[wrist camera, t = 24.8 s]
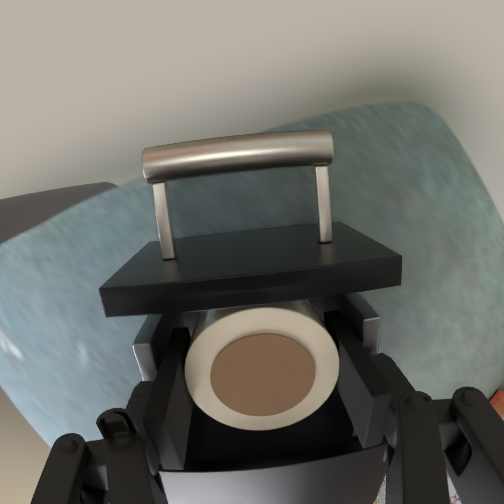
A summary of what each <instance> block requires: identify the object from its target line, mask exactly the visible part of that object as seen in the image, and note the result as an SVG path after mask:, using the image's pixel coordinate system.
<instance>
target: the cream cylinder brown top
mask: <svg viewBox="0 0 504 504" xmlns="http://www.w3.org/2000/svg"><path fill="white" fill-rule="evenodd" d="M184 374H185V379H186V383H187V387H188V390H189V393H190V395H191V397H192V398H193V400H194V401H195V403H196V404H197V405H198V406H199V407H200V408H201V409H202V410H203V411H204V412H205V413H206V414H208V415H209V416H210V417H212V418H214V419H215V420H217V421H219V422H221V423H223V424H226V425H229V426H232V427H235V428H240V429H246V430H271V429H277V428H281V427H285V426H288V425H291V424H294V423H296V422H298V421H300V420H302V419H304V418H306V417H307V416H309V415H310V414H312V413H313V412H314V411H316V410H317V409H318V408H319V407H320V406H321V405H322V404H323V403H324V402H325V401H326V400H327V398H328V397H329V396H330V394H331V392H332V391H333V389H334V387H335V384H336V382H337V378H338V375H339V354H338V350H337V347H336V345H335V342H334V340H333V339H332V337H331V335H330V333H329V331H328V329H327V328H326V326H325V324H324V322H323V320H322V318H321V317H320V315H319V313H318V311H317V310H316V308H315V306H314V305H313V304H312V303H311V302H310V300H308V299H305V300H297V301H289V302H281V303H272V304H264V305H255V306H245V307H236V308H226V309H216V310H205V311H201V312H200V314H199V316H198V318H197V320H196V322H195V325H194V329H193V333H192V336H191V340H190V344H189V348H188V352H187V356H186V361H185V367H184Z"/></svg>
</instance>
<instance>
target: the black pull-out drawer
mask: <svg viewBox="0 0 504 504" xmlns="http://www.w3.org/2000/svg"><path fill="white" fill-rule="evenodd" d="M333 159H334V143H333V138H332V135H331V133H330V131H328V130H304V131H285V132H270V133H258V134H246V135H237V136H227V137H218V138H211V139H202V140H195V141H187V142H180V143H174V144H167V145H162V146H156V147H150V148H145V149H144V150H143V152H142V170H143V175H144V178H145V180H146V182H147V183H148V184H152V191H153V199H154V206H155V213H156V220H157V227H158V234H159V240H160V241H154V242H149V243H148V244H147V245H145V246H144V247H143V248H142V249H141V250H140V251H139V252H138V253H137V254H135V255H134V256H133V257H132V258H131V259H130V260H129V261H128V262H127V263H126V264H125V265H123V266H122V267H121V268H120V269H119V270H118V271H117V272H116V273H115V274H114V275H113V276H112V277H111V278H110V279H108V280H107V281H106V282H105V283H104V284H103V285H102V286H101V287H100V288H99V294H100V298H101V302H102V305H103V309H104V313H105V316H106V317H126V316H142V315H148V316H147V318H146V320H145V322H144V324H143V325H142V327H141V329H140V331H139V333H138V335H137V336H136V338H135V340H134V342H133V344H132V346H133V349H134V353H135V356H136V359H137V362H138V366H139V369H140V372H141V375H142V378H143V381H155V379H156V376H157V373H158V370H159V367H160V364H161V361H162V358H163V356H164V353H165V350H166V347H167V344H168V342H169V339H170V336H171V333H172V331H173V328H180V327H189V332H190V337H191V336H192V333H193V329H194V325H195V322H196V320H197V318H198V316H199V314H200V312H201V311H205V310H216V309H226V308H236V307H245V306H255V305H264V304H272V303H281V302H289V301H297V300H305V299H308V300H310V302H311V303H312V304H313V305H314V306H315V308H316V310H317V311H318V313H319V315H320V317H321V318H322V320H323V322H324V312H327V311H334V310H339V311H340V313H341V314H342V315H343V317H344V318H345V320H346V321H347V323H348V324H349V326H350V327H351V329H352V330H353V331H354V333H355V334H356V336H357V337H358V339H359V340H360V342H361V343H362V345H363V346H364V348H365V349H366V351H367V352H368V354H369V355H375V354H378V347H379V336H380V324H381V316H380V315H379V314H378V313H377V312H376V311H375V310H374V309H373V308H372V307H371V305H370V304H369V303H368V302H367V301H366V300H365V299H364V298H363V297H362V296H361V295H360V294H359V293H358V292H361V291H368V290H374V289H380V288H387V287H393V286H399V285H401V275H402V256H401V255H399V254H398V253H396V252H394V251H392V250H391V249H389V248H387V247H385V246H384V245H382V244H380V243H378V242H376V241H375V240H373V239H371V238H369V237H367V236H366V235H364V234H362V233H360V232H358V231H356V230H355V229H353V228H351V227H349V226H347V225H345V224H343V223H342V222H331V204H330V189H329V175H328V166H326V165H331V164H332V162H333ZM309 166H313V167H312V172H313V184H314V198H315V213H316V224H310V225H300V226H289V227H279V228H270V229H260V230H251V231H241V232H232V233H223V234H214V235H205V236H196V237H187V238H179V239H175V237H174V230H173V223H172V216H171V208H170V201H169V193H168V185H167V182H166V181H173V180H180V179H188V178H195V177H203V176H211V175H220V174H229V173H238V172H248V171H258V170H269V169H281V168H294V167H309ZM358 440H359V438H358V436H357V433H356V431H355V429H354V426H353V424H352V422H351V419H350V417H349V415H348V412H347V410H346V408H345V405H344V403H343V401H342V398H341V396H340V394H339V391H338V389H337V387H336V385H335V387H334V389H333V391H332V392H331V394H330V396H329V397H328V398H327V400H326V401H325V402H324V403H323V404H322V405H321V406H320V407H319V408H318V409H317V410H316V411H314V412H313V413H312V414H310V415H309V416H307V417H306V418H304V419H302V420H300V421H298V422H296V423H294V424H291V425H288V426H285V427H281V428H277V429H271V430H246V429H240V428H235V427H232V426H229V425H226V424H223V423H221V422H219V421H217V420H215V419H214V418H212V417H210V416H209V415H208V414H206V413H205V412H204V411H203V410H202V409H201V408H200V407H199V406H198V405H197V404H196V403H195V401H193V407H192V414H191V421H190V427H189V434H188V441H187V448H186V455H185V461H211V460H232V459H246V458H257V457H266V456H275V455H283V454H290V453H297V452H303V451H309V450H315V449H320V448H326V447H331V446H336V445H340V444H345V443H349V442H354V441H358Z"/></svg>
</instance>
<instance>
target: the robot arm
mask: <svg viewBox="0 0 504 504" xmlns="http://www.w3.org/2000/svg"><path fill="white" fill-rule="evenodd" d="M324 324H325V326H326V328H327V329H328V331H329V333H330V335H331V337H332V339H333V340H334V342H335V345H336V347H337V350H338V354H339V375H338V378H337V382H336V384H335V385H336V387H337V389H338V391H339V394H340V396H341V398H342V401H343V403H344V405H345V408H346V410H347V412H348V415H349V417H350V419H351V422H352V424H353V426H354V429H355V431H356V433H357V436H358V438H359V440H360V443H361V445H362V447H363V448H367V447H371V446H374V445H378V444H382V440H383V436H384V435H385V437H386V439H387V440H388V444H387V448H386V451H385V455H384V458H383V461H386V499H385V504H450V495H449V487H448V479H447V473H448V475H449V477H450V479H451V481H452V483H453V486H454V488H455V490H456V492H457V495H458V497H459V499H460V501H461V504H504V421H503V419H502V418H501V417H500V415H499V414H498V413H497V411H496V410H495V409H494V407H493V406H492V405H491V403H490V402H489V401H488V399H487V398H486V397H485V396H484V394H483V393H482V392H481V391H480V390H478V389H476V388H474V387H461V388H459V389H457V390H456V391H455V392H454V393H453V397H452V399H441V400H432V399H431V397H430V396H429V395H427V394H426V393H423V392H421V391H415V389H414V388H413V386H412V385H411V384H410V382H409V381H408V380H407V378H406V377H405V376H404V374H403V373H402V372H401V370H400V369H399V368H398V366H397V365H396V364H395V362H394V361H393V360H392V358H390V357H389V356H387V355H385V354H383V353H380V354H375V355H369V354H368V352H367V351H366V349H365V348H364V346H363V345H362V343H361V342H360V340H359V339H358V337H357V336H356V334H355V333H354V331H353V330H352V329H351V327H350V326H349V324H348V323H347V321H346V320H345V318H344V317H343V315H342V314H341V313H340V311H339V310H334V311H327V312H324ZM190 340H191V337H190V332H189V327H180V328H173V331H172V333H171V336H170V339H169V342H168V344H167V347H166V350H165V353H164V356H163V358H162V361H161V364H160V367H159V370H158V373H157V376H156V379H155V381H141V382H140V383H139V384H138V385H137V386H136V387H135V388H134V389H133V392H132V394H131V398H130V399H129V402H128V404H127V407H126V409H123V408H113V409H110V410H107V411H105V412H103V413H102V414H101V415H100V416H99V417H98V418H97V421H96V424H97V426H98V428H99V430H100V432H101V434H102V436H103V438H104V439H101V440H95V441H89V442H85V440H84V439H83V437H82V436H80V435H79V434H75V433H69V434H65V435H62V436H61V437H59V438H58V439H57V440H56V441H55V443H54V445H53V447H52V449H51V452H50V454H49V457H48V459H47V461H46V464H45V467H44V469H43V471H42V474H41V477H40V479H39V482H38V485H37V487H36V490H35V493H34V495H33V498H32V501H31V504H109V502H110V504H168V500H167V497H166V493H165V489H164V486H163V482H162V478H161V475H160V473H159V472H158V467H159V462H161V464H162V467H163V469H175V470H183V469H184V462H185V455H186V448H187V441H188V434H189V427H190V421H191V414H192V407H193V401H194V400H193V398H192V397H191V395H190V393H189V390H188V387H187V383H186V379H185V374H184V367H185V361H186V356H187V352H188V348H189V344H190ZM446 470H447V472H446Z"/></svg>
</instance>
